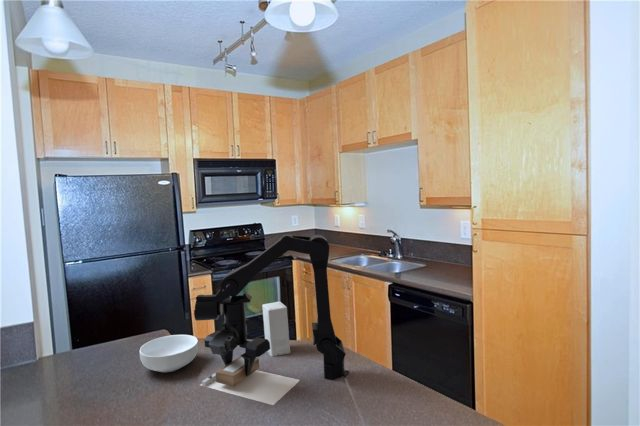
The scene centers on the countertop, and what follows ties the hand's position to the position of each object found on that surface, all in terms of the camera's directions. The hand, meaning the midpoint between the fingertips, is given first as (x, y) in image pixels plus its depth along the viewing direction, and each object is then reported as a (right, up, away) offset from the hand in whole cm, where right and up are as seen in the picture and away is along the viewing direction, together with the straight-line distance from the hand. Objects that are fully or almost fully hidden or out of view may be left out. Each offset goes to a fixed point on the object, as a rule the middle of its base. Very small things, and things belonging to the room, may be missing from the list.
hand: (238, 373), depth 105 cm
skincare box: (+9, -1, +19) cm, 21 cm away
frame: (0, -1, 0) cm, 1 cm away
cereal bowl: (-23, -3, +12) cm, 26 cm away
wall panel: (+4, -3, -2) cm, 5 cm away
